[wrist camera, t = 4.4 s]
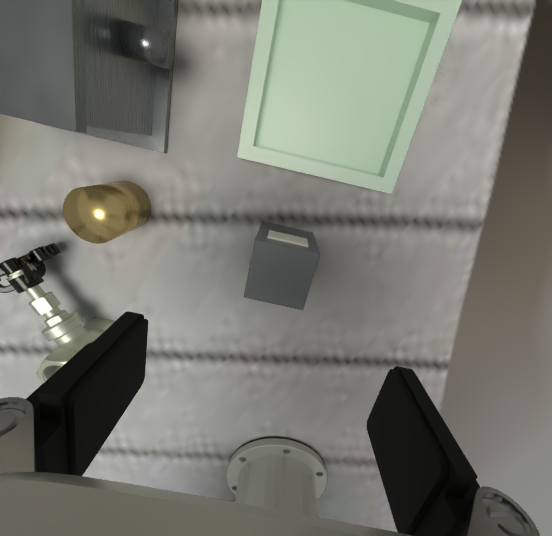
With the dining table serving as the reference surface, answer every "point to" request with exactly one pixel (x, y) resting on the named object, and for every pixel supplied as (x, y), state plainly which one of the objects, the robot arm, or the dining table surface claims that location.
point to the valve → (50, 309)
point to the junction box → (90, 66)
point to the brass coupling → (106, 210)
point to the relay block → (282, 266)
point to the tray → (342, 85)
